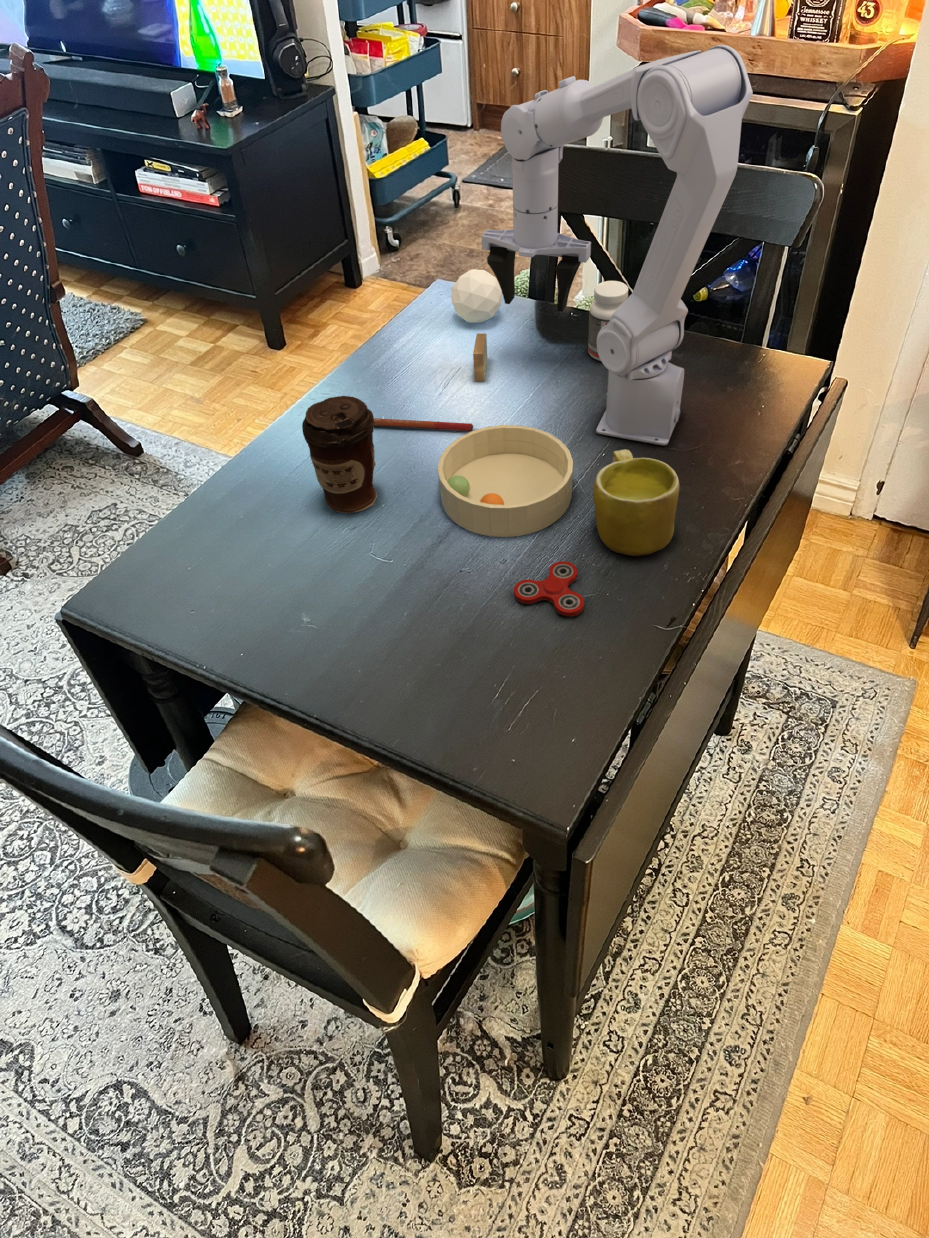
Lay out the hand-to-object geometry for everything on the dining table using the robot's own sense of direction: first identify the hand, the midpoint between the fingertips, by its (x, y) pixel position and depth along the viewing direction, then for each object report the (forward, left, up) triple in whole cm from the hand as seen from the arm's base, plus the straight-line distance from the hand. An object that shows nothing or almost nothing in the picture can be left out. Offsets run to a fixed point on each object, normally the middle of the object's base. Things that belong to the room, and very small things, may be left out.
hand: (535, 304), depth 126 cm
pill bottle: (-9, -6, -10) cm, 15 cm away
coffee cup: (+12, +36, -10) cm, 39 cm away
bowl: (-6, +29, -9) cm, 31 cm away
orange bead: (-6, +34, -7) cm, 35 cm away
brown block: (+7, +4, -9) cm, 12 cm away
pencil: (+12, +20, -9) cm, 25 cm away
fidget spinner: (-17, +43, -10) cm, 47 cm away
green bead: (-1, +32, -7) cm, 33 cm away
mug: (-22, +30, -10) cm, 38 cm away
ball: (+13, -10, -10) cm, 19 cm away
